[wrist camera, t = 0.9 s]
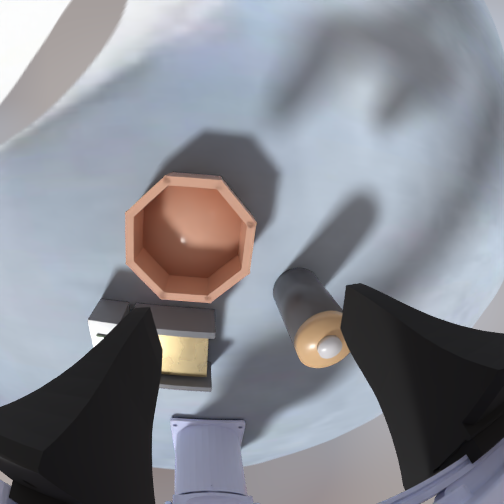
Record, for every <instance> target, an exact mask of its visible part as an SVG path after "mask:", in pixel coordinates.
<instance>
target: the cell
mask: <svg viewBox="0 0 504 504" xmlns="http://www.w3.org/2000/svg"><path fill="white" fill-rule="evenodd" d="M273 297H274V300H275V302H276V304H277V307H278V309H279V312H280V314H281V316H282V319H283V321H284V323H285V326H286V328H287V331H288V333H289V335H290V338H291V340H292V343H293V345H294V347H295V350H296V352H297V354H298V357H299V359H300V361H301V362H302V363H303V364H304V365H306V366H308V367H312V368H324V367H328V366H331V365H333V364H335V363H337V362H339V361H341V360H342V359H343V358H345V357H346V356H347V355H348V354H349V352H350V351H349V349H348V346H347V344H346V342H345V339H344V337H343V334H342V332H341V329H340V326H341V320H342V313H343V310H342V309H341V308H340V306H339V305H338V304H337V303H336V301H335V300H334V299H333V297H332V296H331V295H330V294H329V292H328V291H327V290H326V289H325V287H324V286H323V285H322V283H321V282H320V281H319V280H318V278H317V277H316V276H315V275H314V274H313V273H312V272H311V271H309V270H307V269H304V268H294V269H291V270H288V271H286V272H285V273H283V274H282V275H281V276H280V277H279V278H278V279H277V281H276V282H275V285H274V288H273Z"/></svg>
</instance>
